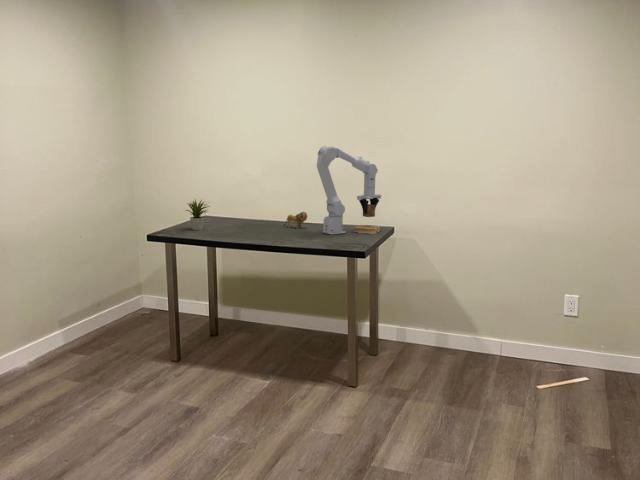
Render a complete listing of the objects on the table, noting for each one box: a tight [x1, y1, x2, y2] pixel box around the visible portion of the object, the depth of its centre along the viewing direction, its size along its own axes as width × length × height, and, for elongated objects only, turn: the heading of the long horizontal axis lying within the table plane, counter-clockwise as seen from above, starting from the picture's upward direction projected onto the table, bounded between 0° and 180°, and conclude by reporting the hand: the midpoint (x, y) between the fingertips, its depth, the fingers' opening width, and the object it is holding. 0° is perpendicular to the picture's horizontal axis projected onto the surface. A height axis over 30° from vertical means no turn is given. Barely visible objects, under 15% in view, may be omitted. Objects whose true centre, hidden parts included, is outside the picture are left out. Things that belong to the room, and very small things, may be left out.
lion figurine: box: [282, 211, 308, 229], centre depth 321 cm, size 15×5×9 cm, turn 63°
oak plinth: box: [353, 224, 381, 235], centre depth 310 cm, size 11×11×3 cm
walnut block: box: [362, 203, 376, 218], centre depth 312 cm, size 4×4×6 cm
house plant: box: [184, 198, 211, 231], centre depth 312 cm, size 14×14×16 cm
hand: (368, 212), depth 312 cm, fingers closed on walnut block, 4 cm apart
